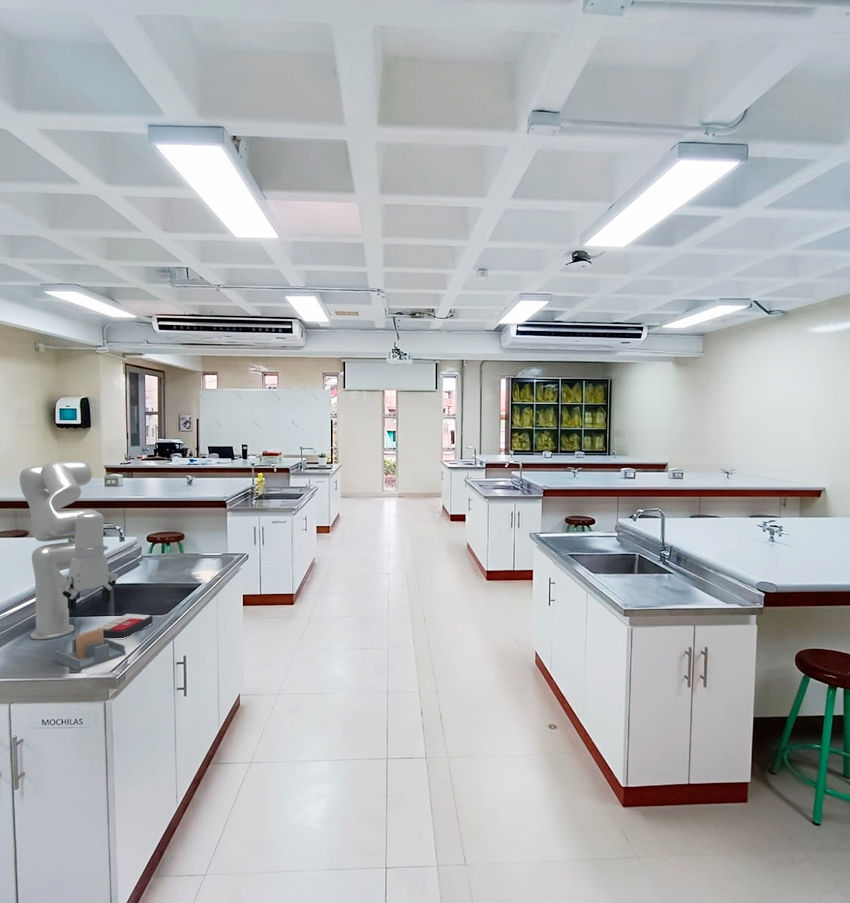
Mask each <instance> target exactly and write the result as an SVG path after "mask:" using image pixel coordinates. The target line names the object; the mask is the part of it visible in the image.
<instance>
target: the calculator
mask: <svg viewBox="0 0 850 903" xmlns="http://www.w3.org/2000/svg"><path fill="white" fill-rule="evenodd" d="M152 622H153V615H150V614H138V613H137V614H136V613H126V614H124V615H122V616H120V617H117V618H115V619H113V620H110V621H109V622H107V623H105V624H103V625H101V626H99V627H97V629H99V628H101V629H103V638H105V639H110V638H124V637H127V636H129V637H130V635H131V634H133V633H135V632H137V631H139V630H140V631H142V630H143V629H142V628H144V627H146V626H148V625H149V624H151V623H152ZM141 629H142V630H141ZM140 631H139V632H140ZM137 633H138V632H137ZM135 634H136V633H135ZM133 635H134V634H133ZM131 636H132V635H131ZM127 638H128V637H127Z"/></svg>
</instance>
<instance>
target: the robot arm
mask: <svg viewBox="0 0 850 903" xmlns="http://www.w3.org/2000/svg"><path fill="white" fill-rule="evenodd" d="M92 473H93V472H92V469H91V467H90V465H89V464H88V463H87V462H86V461H83V460H69V461H68V460H64V461H63V460H61V461H60V460H59V461H57V460H56V461H50V462H48V463H46V464H43V465H33V466H29V467H26V468H24V469H22V470H21V472H20V475H19V486H20V489H21V492H22V494H23V496H24V499H25V500H26V502H27V504H28V506H29V512H30V518H31V524H32V533H33V536H34V539H35V540H36V541H37V542H42V543H43V542H44V543H45V542H55V541H63V540H70V541H67V542H58V543H57V542H56V543H50V544H45V545H42V546H41V545H40V546H39V547H37V548H35V549H34V550H33V551H32V553H31V561H32V562H31V563H32V567H33V573H34V583H35V585H34V586H35V589H34V590H35V592H34V593H35V630H33V631H32V632H31V633H30V638H31V639H33V640H48V639H49V640H51V639H55V638H59V637H64V636H66V635H69V634H71V633H72V632H73V631H75V626H74V625H73V624H70V612H72V613H73V612H74V613H75V612H76V611H77V598H75V597H76V596H77V595H78V594H79V592H82V591H87V590H92V589H96V588H100V587H102V588H103V589H102V590H101V602H102V603H106V604H110V599H111V591H112V589H113V587H114V585H115V584H116V583H117V581H118V578H119V577H120V576H119V574H118V573H115V572H111V571H109V564H108V559H107V555H106V554H104V553H105V551H107V550H109V549H108V546H107V545H104V515H103V514H102V513H101V512H98V511H97V510H95V509H92V508H90V509H89V508H87V509H76V510H66V511H64V510H63V511H61V509H63V508H64V507H66V506H68V505H69V506H70V505H71V504H73V503H75V502H76V501H77V500H79V498H80V496H81V493H82V490H81V486H84V485H87V484H89V482H91V479H92V475H93V474H92ZM65 570H68V571H69V573H68V578H67V577H66V576H65V575H63V574H62V573H61V572H60V571H65ZM109 577H111V578H109ZM109 579H110V580H109Z"/></svg>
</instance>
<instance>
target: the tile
mask: <svg viewBox="0 0 850 903" xmlns="http://www.w3.org/2000/svg"><path fill="white" fill-rule="evenodd" d="M98 628H99V627H98ZM98 628H97V629H94V630H93V629H92V630H89V631H87V632H83V633H82V632H81V633H79V634H76V637H75V639H76V658H78V659H82V658H85V657H87V645H88V644H92V643H95V642H98V641H102V645H103V629H101V628H99V629H98Z"/></svg>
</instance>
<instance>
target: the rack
mask: <svg viewBox="0 0 850 903" xmlns="http://www.w3.org/2000/svg"><path fill="white" fill-rule="evenodd" d="M71 640H72V641H71V644H72V645H71V646H72V649H71V650H72V651H71V652H69V653H65V652H62V651H59V650H55V656H54V662H56V663H58V664H60V665H63V666H65V667H68V668H70V669H72V670H74V671H78V672H79V671H81V670H84V669H88V668H91V667H93V666H94V667H95V665H99V664H103V663H105V662H107V661H111V660H114V659H116V658H119V657H122V656H125V655H127V654H126V646H125V645H124V644H122V643H119V642H116V641H113V640H112V639H109V638H103V645H102V641H98V642H95V643H92V644H88V645H87V657H85V658H82V659H78V658H76V638H73V639H71Z"/></svg>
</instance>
